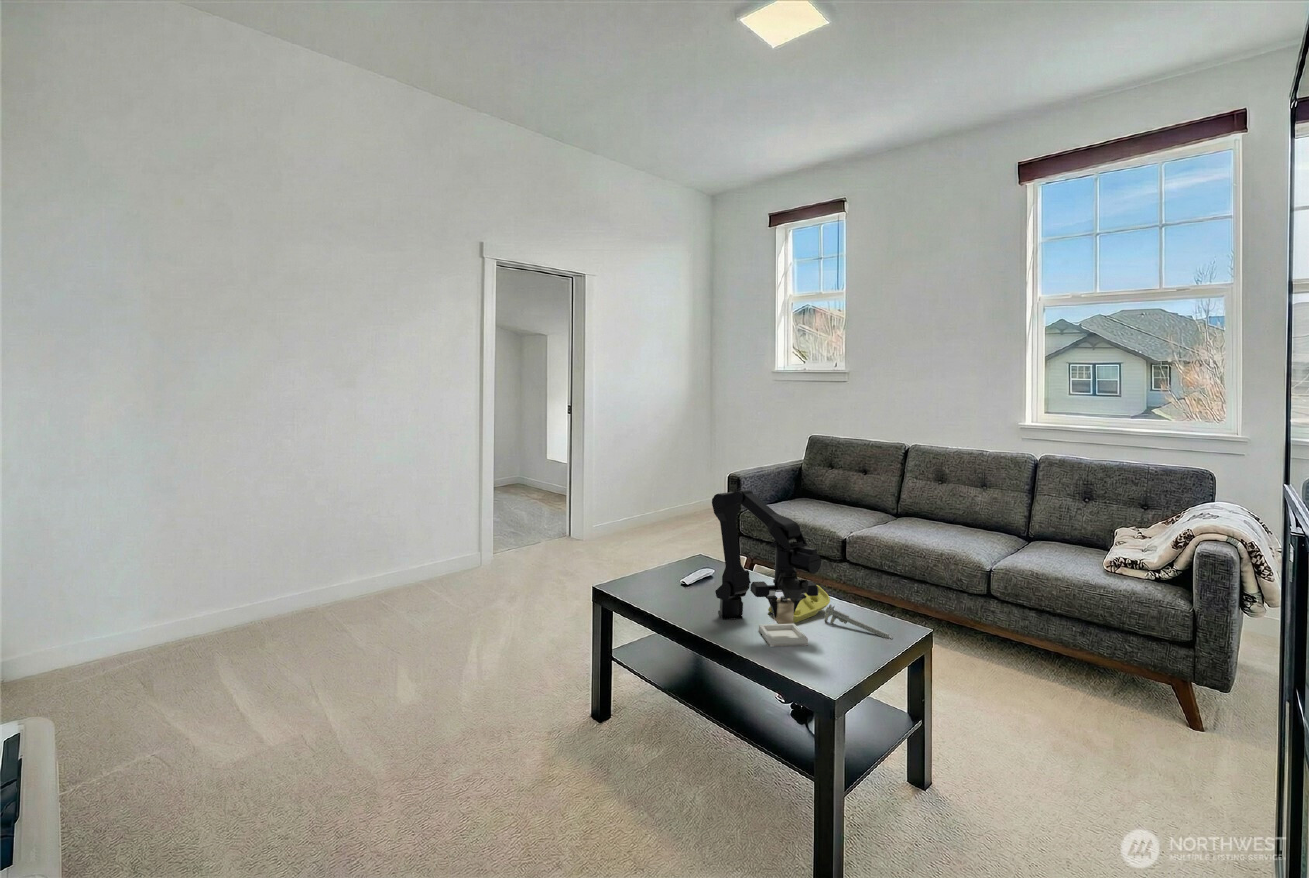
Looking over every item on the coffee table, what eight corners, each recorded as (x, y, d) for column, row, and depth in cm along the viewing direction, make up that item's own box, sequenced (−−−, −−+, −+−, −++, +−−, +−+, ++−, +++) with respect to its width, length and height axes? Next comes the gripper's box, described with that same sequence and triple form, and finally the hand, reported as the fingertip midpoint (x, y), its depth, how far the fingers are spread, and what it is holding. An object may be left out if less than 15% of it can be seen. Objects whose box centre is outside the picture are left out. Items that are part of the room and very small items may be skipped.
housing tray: (770, 646, 168) (770, 639, 168) (758, 631, 179) (758, 624, 179) (807, 645, 170) (808, 638, 169) (793, 629, 180) (794, 623, 180)
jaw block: (778, 624, 171) (779, 600, 171) (773, 618, 176) (773, 594, 175) (793, 623, 172) (794, 599, 171) (787, 617, 176) (788, 594, 176)
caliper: (824, 623, 187) (825, 603, 186) (825, 622, 188) (826, 602, 187) (892, 640, 175) (893, 619, 174) (893, 639, 176) (894, 618, 175)
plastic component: (794, 618, 184) (772, 596, 191) (786, 635, 187) (765, 612, 194) (836, 601, 195) (814, 581, 202) (828, 617, 198) (806, 597, 205)
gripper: (762, 574, 163) (760, 629, 165) (827, 572, 166) (824, 627, 167) (750, 562, 174) (748, 614, 176) (812, 561, 177) (809, 612, 178)
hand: (783, 617), depth 174 cm, fingers closed on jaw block, 4 cm apart
